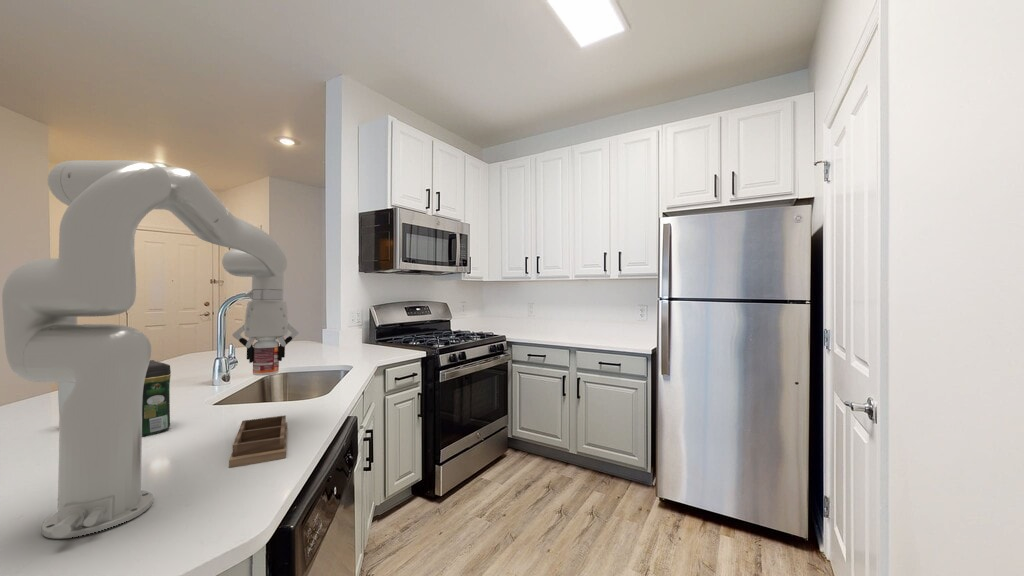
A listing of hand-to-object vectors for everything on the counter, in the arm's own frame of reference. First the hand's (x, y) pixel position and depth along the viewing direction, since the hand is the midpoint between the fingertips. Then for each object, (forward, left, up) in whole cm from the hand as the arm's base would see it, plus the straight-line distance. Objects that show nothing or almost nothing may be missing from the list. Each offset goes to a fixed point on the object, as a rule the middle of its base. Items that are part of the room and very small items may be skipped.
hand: (266, 360), depth 109 cm
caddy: (-16, 0, -18) cm, 24 cm away
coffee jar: (+9, +27, -18) cm, 34 cm away
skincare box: (+21, +43, -18) cm, 51 cm away
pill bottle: (0, 0, -4) cm, 4 cm away
